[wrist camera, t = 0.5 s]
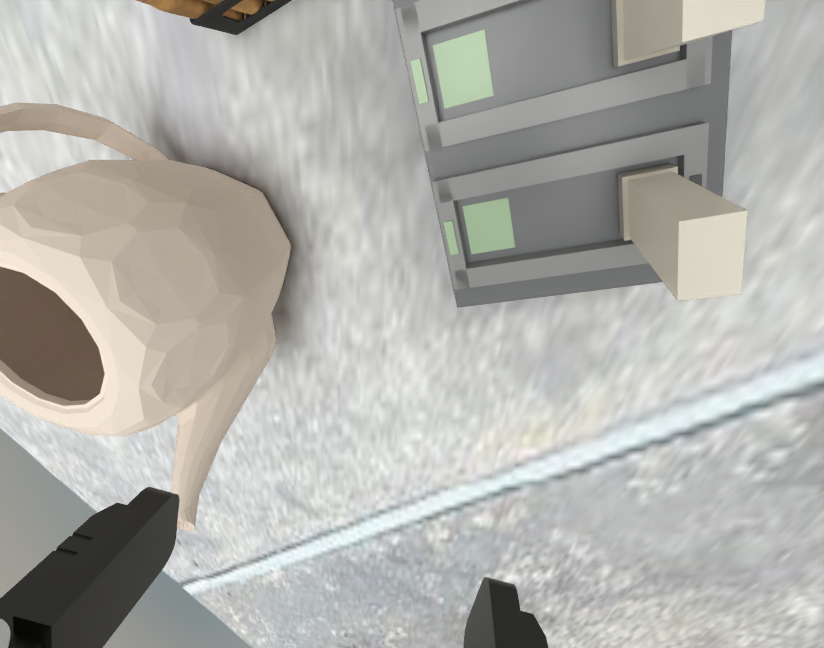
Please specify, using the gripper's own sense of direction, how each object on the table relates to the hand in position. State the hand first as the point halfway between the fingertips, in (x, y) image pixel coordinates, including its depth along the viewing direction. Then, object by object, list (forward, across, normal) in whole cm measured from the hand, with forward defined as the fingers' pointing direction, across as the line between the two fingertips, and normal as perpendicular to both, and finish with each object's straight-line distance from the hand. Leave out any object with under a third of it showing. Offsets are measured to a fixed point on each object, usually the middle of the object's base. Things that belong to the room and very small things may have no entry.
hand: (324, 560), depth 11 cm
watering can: (+30, +16, 0) cm, 34 cm away
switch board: (+24, -7, -15) cm, 29 cm away
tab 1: (+20, -9, -21) cm, 30 cm away
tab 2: (+22, -13, -12) cm, 28 cm away
